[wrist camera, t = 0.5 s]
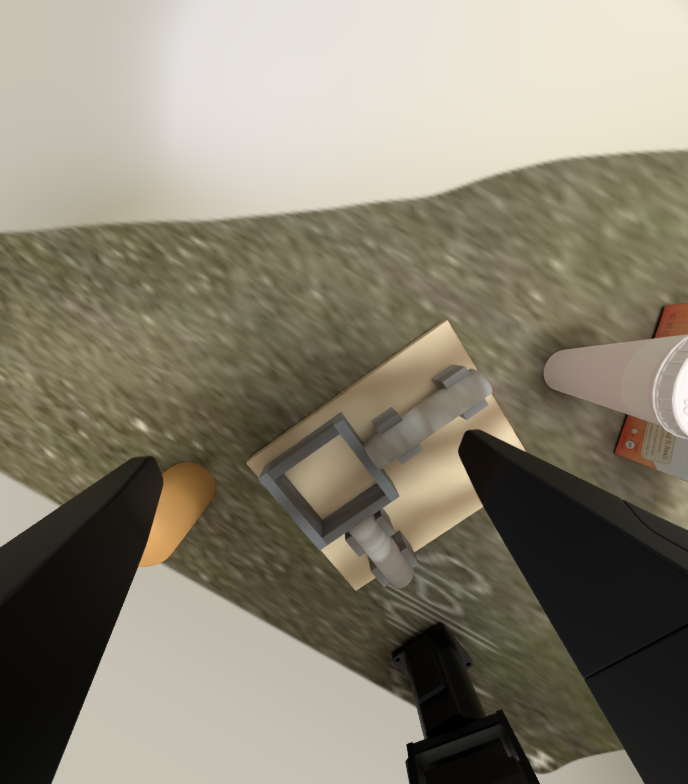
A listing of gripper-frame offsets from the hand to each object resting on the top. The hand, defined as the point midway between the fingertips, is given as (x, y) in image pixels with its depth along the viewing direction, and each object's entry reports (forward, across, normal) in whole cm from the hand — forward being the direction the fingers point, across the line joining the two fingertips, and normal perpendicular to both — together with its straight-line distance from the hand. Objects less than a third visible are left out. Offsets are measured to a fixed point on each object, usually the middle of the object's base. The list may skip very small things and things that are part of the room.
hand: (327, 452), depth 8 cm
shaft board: (+10, -8, +12) cm, 17 cm away
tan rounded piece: (+12, +10, +14) cm, 21 cm away
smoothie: (+11, -23, +3) cm, 26 cm away
